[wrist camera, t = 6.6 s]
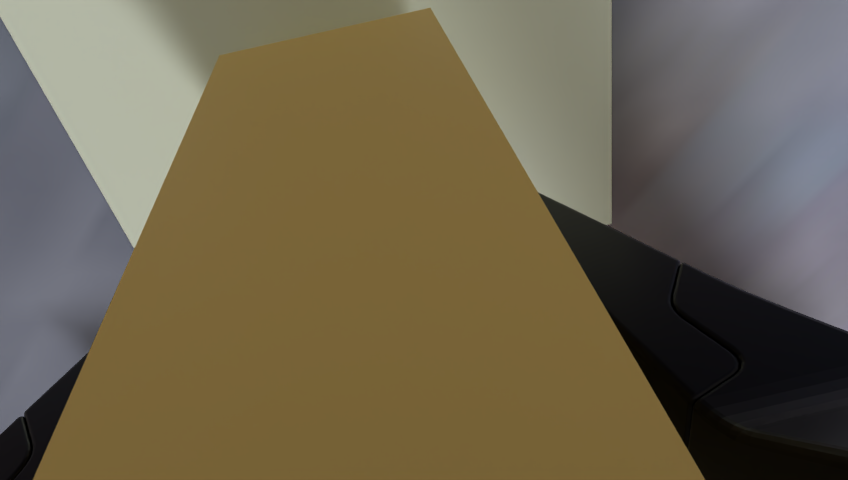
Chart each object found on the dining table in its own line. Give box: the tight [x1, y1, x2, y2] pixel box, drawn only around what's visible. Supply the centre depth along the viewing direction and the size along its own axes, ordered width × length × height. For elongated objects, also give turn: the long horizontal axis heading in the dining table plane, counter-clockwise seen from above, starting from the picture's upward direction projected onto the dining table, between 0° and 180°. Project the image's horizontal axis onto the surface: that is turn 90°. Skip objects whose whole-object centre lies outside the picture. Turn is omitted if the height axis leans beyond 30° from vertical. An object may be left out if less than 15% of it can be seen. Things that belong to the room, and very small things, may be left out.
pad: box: [0, 0, 612, 248], centre depth 14 cm, size 12×10×1 cm
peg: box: [33, 8, 705, 480], centre depth 8 cm, size 4×4×10 cm
